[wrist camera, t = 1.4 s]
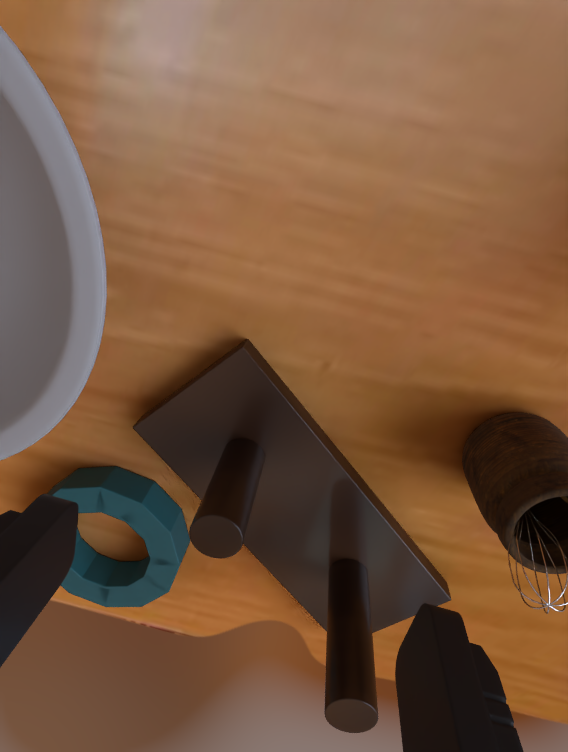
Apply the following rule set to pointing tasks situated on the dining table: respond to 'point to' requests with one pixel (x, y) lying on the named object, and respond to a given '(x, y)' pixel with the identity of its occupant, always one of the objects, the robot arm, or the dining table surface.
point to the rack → (294, 515)
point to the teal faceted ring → (145, 516)
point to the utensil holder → (523, 490)
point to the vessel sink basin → (43, 261)
